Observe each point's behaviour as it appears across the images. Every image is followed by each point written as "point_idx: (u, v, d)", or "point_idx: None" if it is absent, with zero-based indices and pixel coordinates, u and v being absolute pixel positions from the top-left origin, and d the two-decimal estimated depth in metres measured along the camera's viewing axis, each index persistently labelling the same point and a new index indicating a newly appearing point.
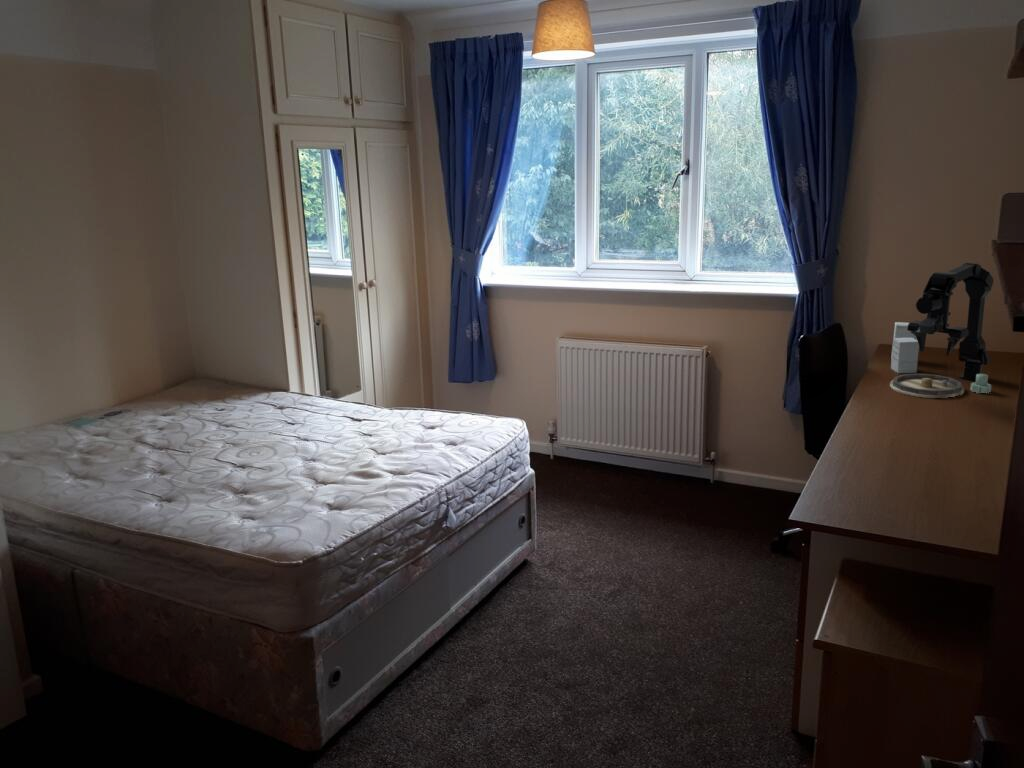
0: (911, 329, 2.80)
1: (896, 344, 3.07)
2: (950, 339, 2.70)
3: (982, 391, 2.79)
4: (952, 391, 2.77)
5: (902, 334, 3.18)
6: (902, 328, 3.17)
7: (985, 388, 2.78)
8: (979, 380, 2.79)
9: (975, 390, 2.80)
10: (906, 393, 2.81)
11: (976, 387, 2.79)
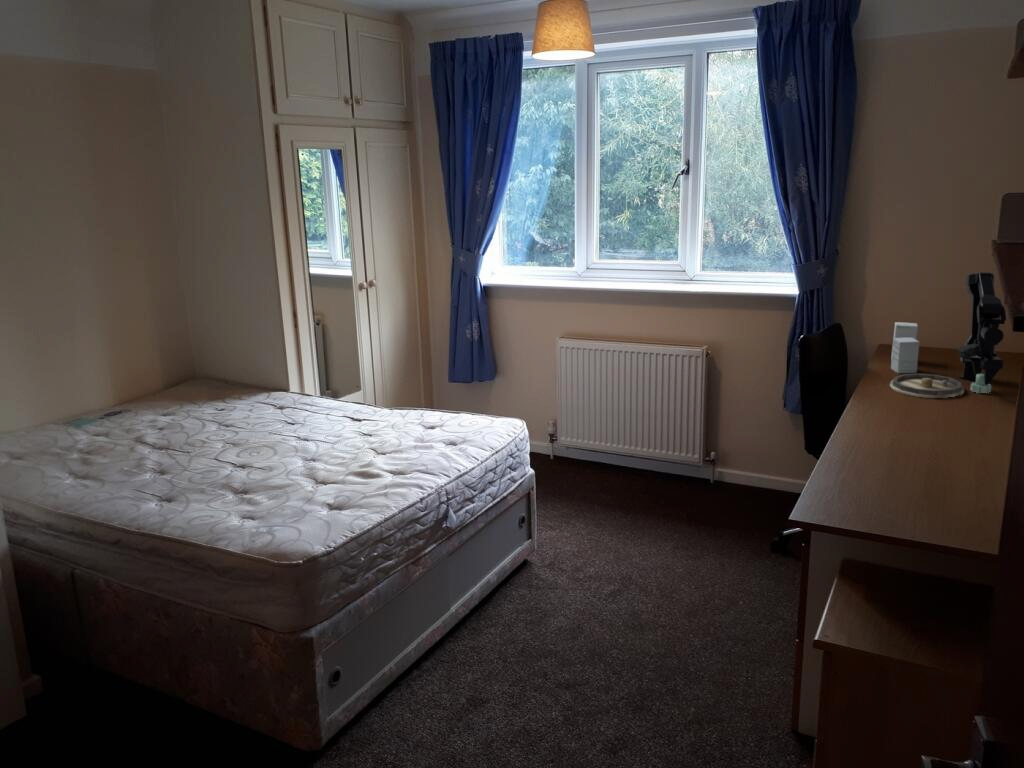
0: None
1: (896, 344, 3.07)
2: (982, 367, 2.73)
3: (982, 391, 2.79)
4: (952, 391, 2.77)
5: (902, 334, 3.18)
6: (902, 328, 3.17)
7: (985, 388, 2.78)
8: (979, 380, 2.79)
9: (975, 390, 2.80)
10: (906, 393, 2.81)
11: (976, 387, 2.79)
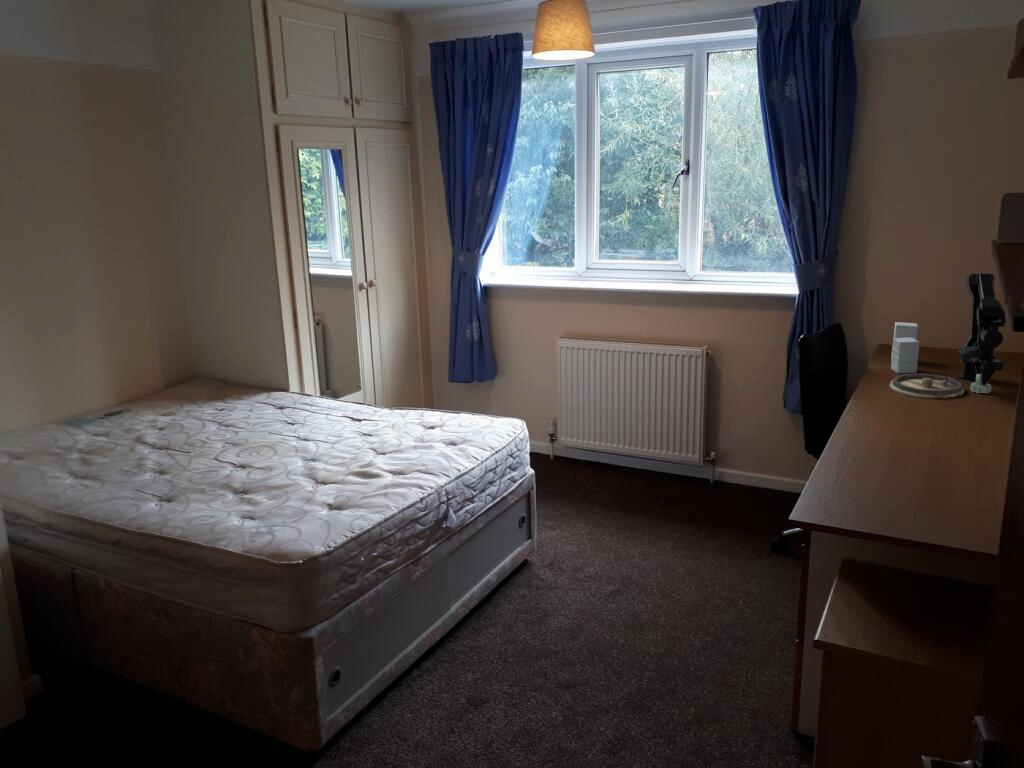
0: None
1: (896, 344, 3.07)
2: (979, 368, 2.76)
3: (982, 391, 2.79)
4: (952, 391, 2.77)
5: (902, 334, 3.18)
6: (902, 328, 3.17)
7: (985, 388, 2.78)
8: (979, 380, 2.79)
9: (975, 390, 2.80)
10: (906, 393, 2.81)
11: (976, 387, 2.79)
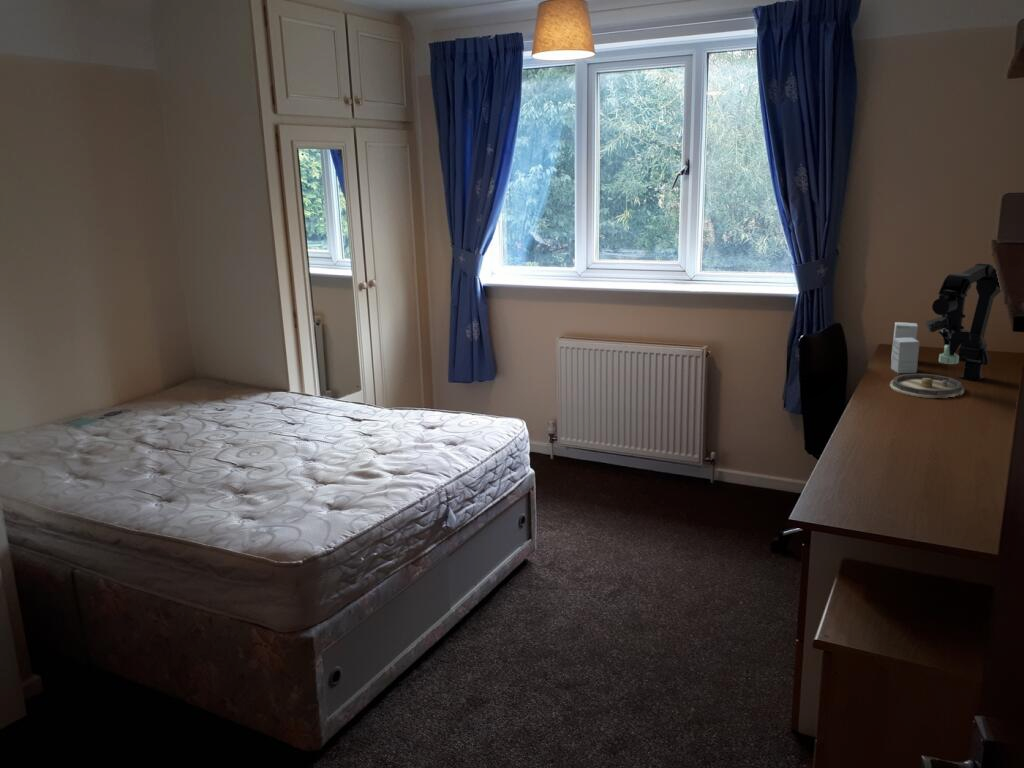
0: None
1: (896, 344, 3.07)
2: (946, 338, 2.78)
3: (950, 361, 2.80)
4: (952, 391, 2.77)
5: (902, 334, 3.18)
6: (902, 328, 3.17)
7: (953, 358, 2.80)
8: (947, 351, 2.81)
9: (943, 361, 2.82)
10: (906, 393, 2.81)
11: (944, 357, 2.81)
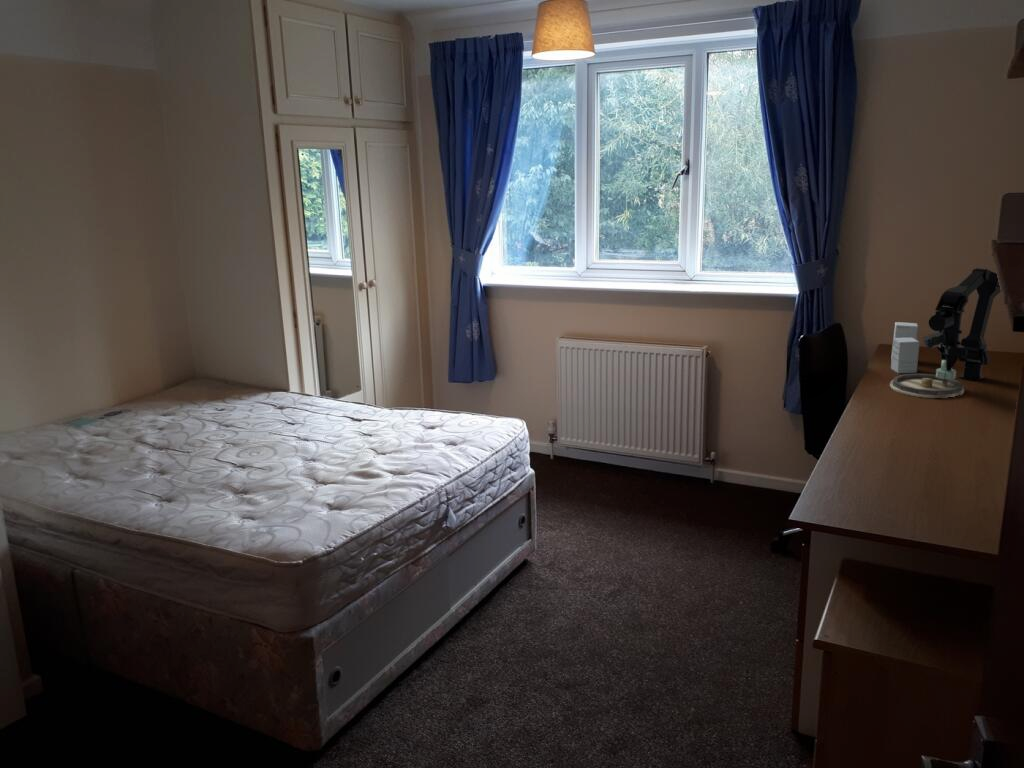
0: None
1: (896, 344, 3.07)
2: (943, 353, 2.80)
3: (947, 377, 2.82)
4: (952, 391, 2.77)
5: (902, 334, 3.18)
6: (902, 328, 3.17)
7: (950, 374, 2.82)
8: (944, 366, 2.83)
9: (940, 376, 2.83)
10: (906, 393, 2.81)
11: (941, 373, 2.83)
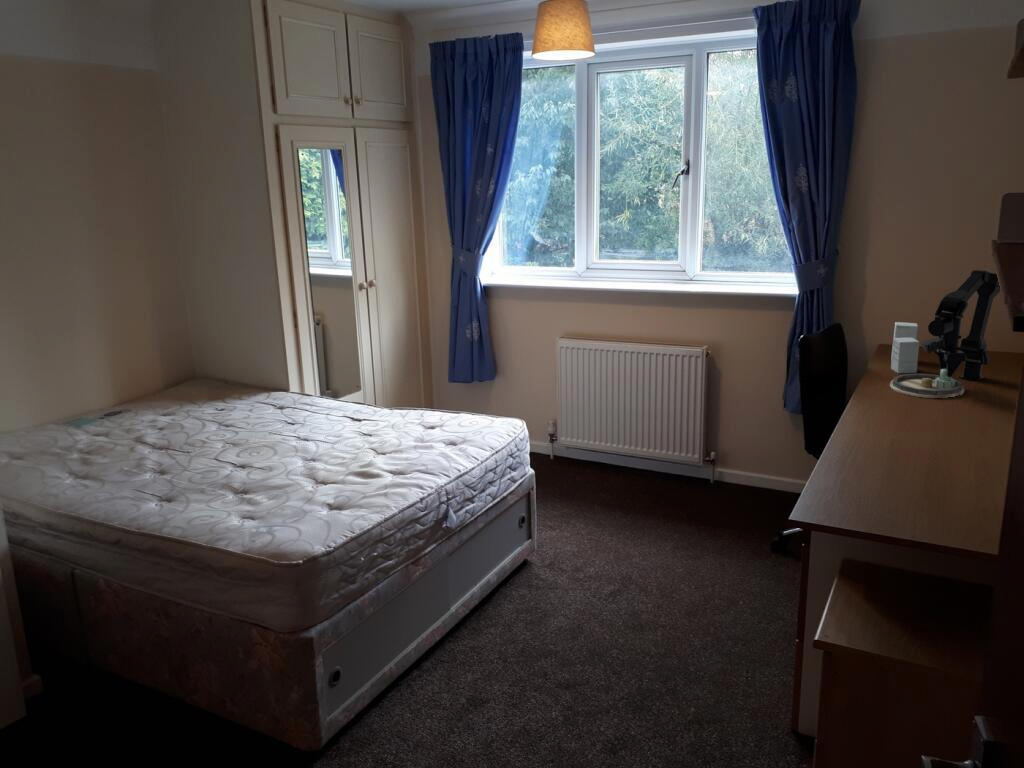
0: None
1: (896, 344, 3.07)
2: (944, 360, 2.79)
3: (946, 386, 2.83)
4: (952, 391, 2.77)
5: (902, 334, 3.18)
6: (902, 328, 3.17)
7: (949, 383, 2.83)
8: (943, 375, 2.84)
9: (939, 385, 2.84)
10: (906, 393, 2.81)
11: (940, 382, 2.84)
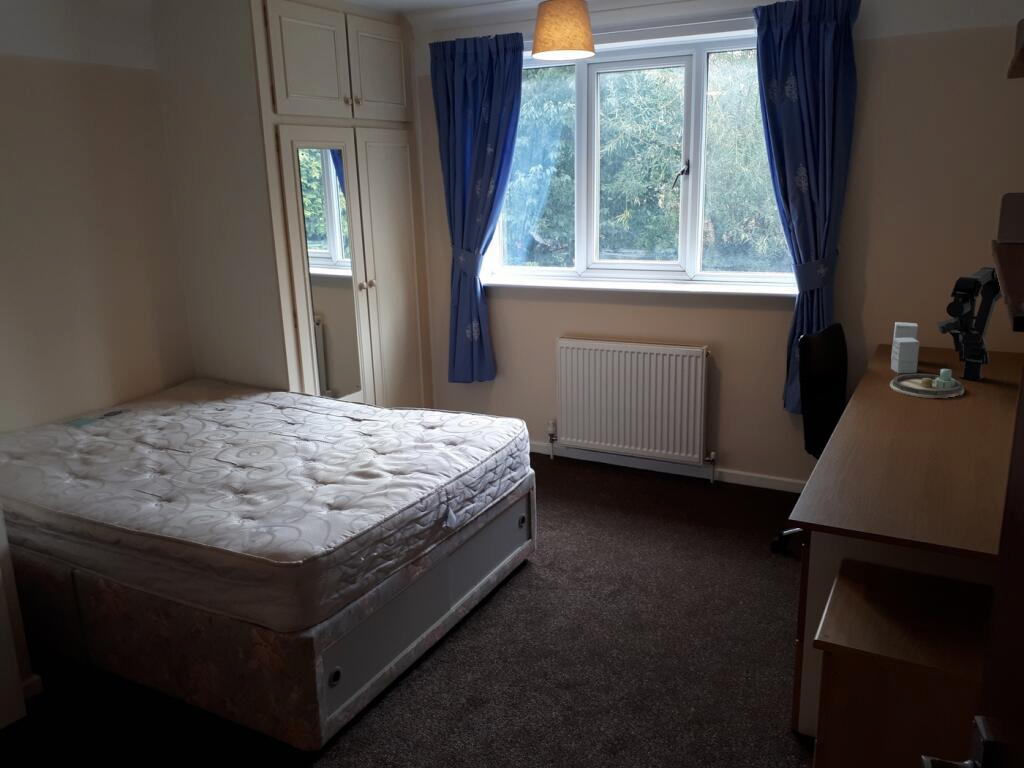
0: None
1: (896, 344, 3.07)
2: (960, 341, 2.78)
3: (946, 386, 2.83)
4: (952, 391, 2.77)
5: (902, 334, 3.18)
6: (902, 328, 3.17)
7: (949, 383, 2.83)
8: (943, 375, 2.84)
9: (939, 385, 2.84)
10: (906, 393, 2.81)
11: (940, 382, 2.84)
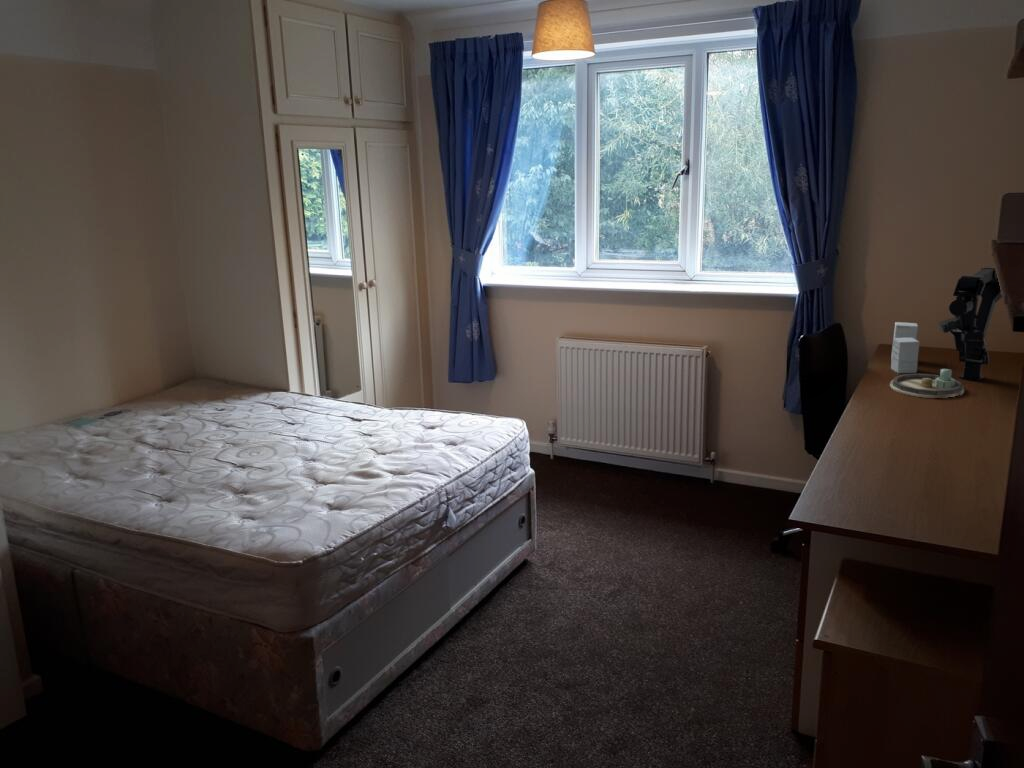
0: None
1: (896, 344, 3.07)
2: (962, 340, 2.78)
3: (946, 386, 2.83)
4: (952, 391, 2.77)
5: (902, 334, 3.18)
6: (902, 328, 3.17)
7: (949, 383, 2.83)
8: (943, 375, 2.84)
9: (939, 385, 2.84)
10: (906, 393, 2.81)
11: (940, 382, 2.84)
